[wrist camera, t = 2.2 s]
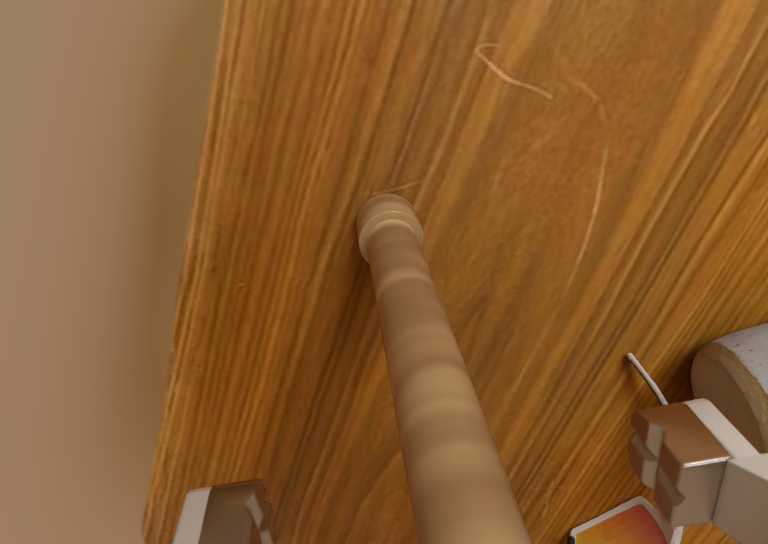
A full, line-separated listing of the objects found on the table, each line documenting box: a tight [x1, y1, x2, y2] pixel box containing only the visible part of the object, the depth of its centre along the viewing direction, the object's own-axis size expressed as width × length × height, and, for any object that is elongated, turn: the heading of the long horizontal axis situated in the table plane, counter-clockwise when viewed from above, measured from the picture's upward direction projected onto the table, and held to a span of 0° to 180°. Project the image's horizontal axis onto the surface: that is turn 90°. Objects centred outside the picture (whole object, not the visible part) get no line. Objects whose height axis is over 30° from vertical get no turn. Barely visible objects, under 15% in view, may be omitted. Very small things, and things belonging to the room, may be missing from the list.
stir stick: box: [356, 193, 532, 544], centre depth 14 cm, size 3×3×20 cm
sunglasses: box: [568, 353, 684, 544], centre depth 30 cm, size 14×15×5 cm
